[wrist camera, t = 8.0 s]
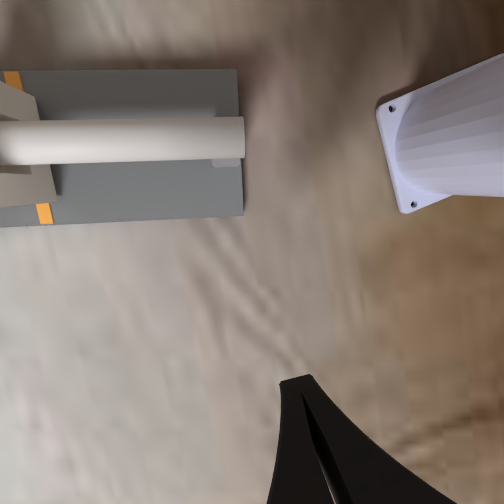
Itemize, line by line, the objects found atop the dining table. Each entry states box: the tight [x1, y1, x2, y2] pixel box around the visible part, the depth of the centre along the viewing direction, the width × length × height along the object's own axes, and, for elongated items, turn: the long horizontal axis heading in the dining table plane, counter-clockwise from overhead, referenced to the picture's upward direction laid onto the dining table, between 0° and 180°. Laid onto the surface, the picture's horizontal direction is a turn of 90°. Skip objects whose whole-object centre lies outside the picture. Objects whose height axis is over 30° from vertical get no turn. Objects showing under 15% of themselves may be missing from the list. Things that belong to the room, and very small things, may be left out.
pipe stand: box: [0, 69, 245, 227], centre depth 15 cm, size 20×9×6 cm, turn 92°
